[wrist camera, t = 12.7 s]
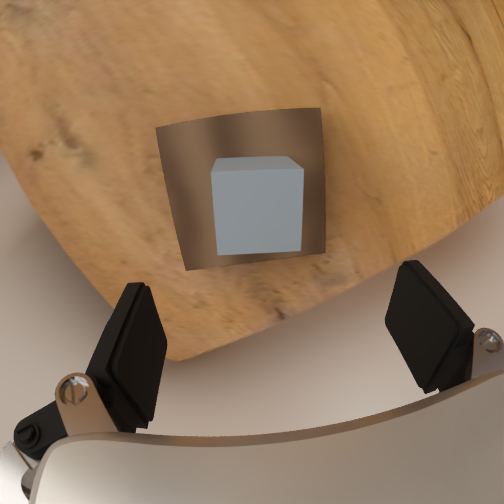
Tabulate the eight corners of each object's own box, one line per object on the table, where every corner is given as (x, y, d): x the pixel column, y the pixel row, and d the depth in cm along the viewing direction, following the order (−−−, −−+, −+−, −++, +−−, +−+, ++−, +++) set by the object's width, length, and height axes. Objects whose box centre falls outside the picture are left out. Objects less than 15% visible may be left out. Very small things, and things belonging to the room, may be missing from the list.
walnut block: (305, 108, 25) (320, 107, 21) (312, 232, 32) (325, 252, 27) (168, 125, 25) (155, 127, 21) (192, 248, 32) (186, 270, 27)
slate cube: (287, 156, 23) (304, 169, 17) (286, 220, 26) (300, 251, 20) (216, 158, 23) (210, 172, 17) (220, 224, 25) (217, 255, 20)
